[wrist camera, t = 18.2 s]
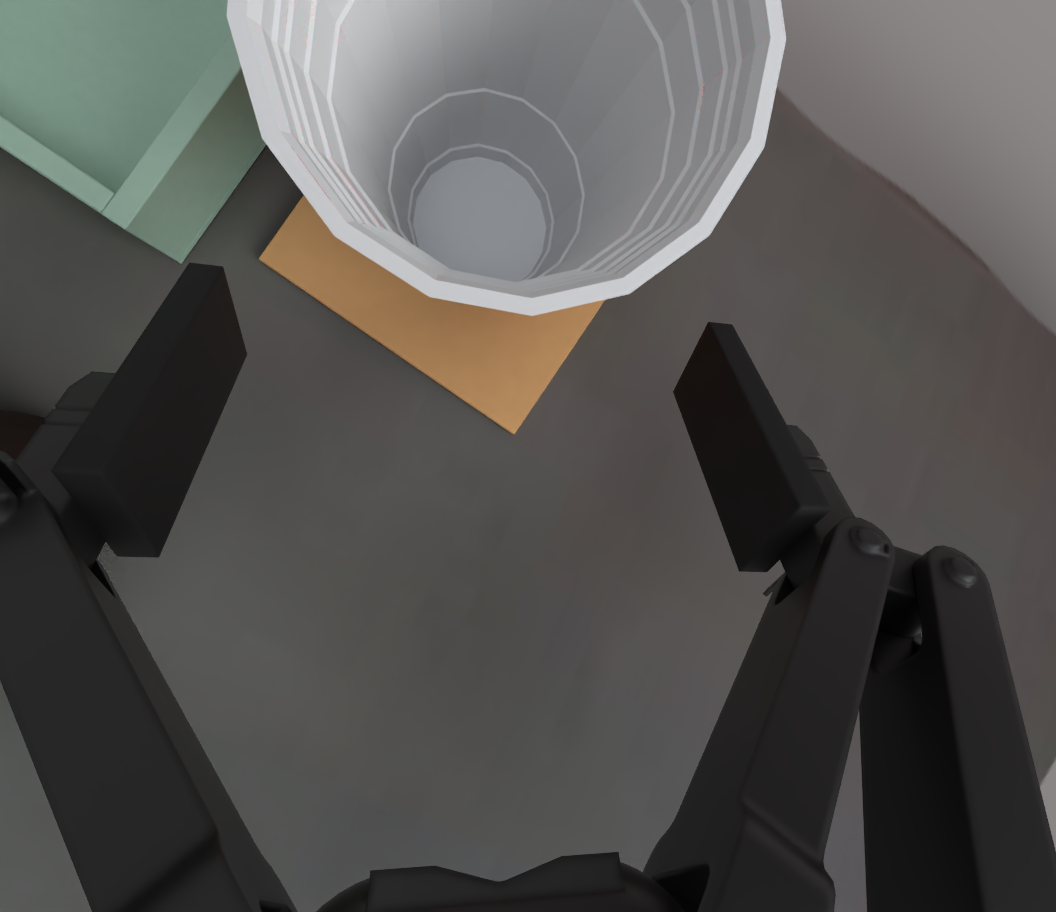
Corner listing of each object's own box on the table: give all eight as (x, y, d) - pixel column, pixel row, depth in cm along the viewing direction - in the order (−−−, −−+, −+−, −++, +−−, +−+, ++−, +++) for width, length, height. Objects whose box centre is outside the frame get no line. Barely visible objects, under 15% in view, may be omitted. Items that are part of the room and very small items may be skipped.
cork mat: (261, 261, 21) (257, 258, 20) (434, 15, 21) (434, 8, 21) (512, 434, 23) (514, 435, 23) (665, 208, 23) (669, 205, 23)
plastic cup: (276, 228, 20) (58, -30, 9) (466, 32, 21) (507, -460, 9) (486, 420, 22) (543, 424, 10) (654, 234, 23) (886, 43, 11)
